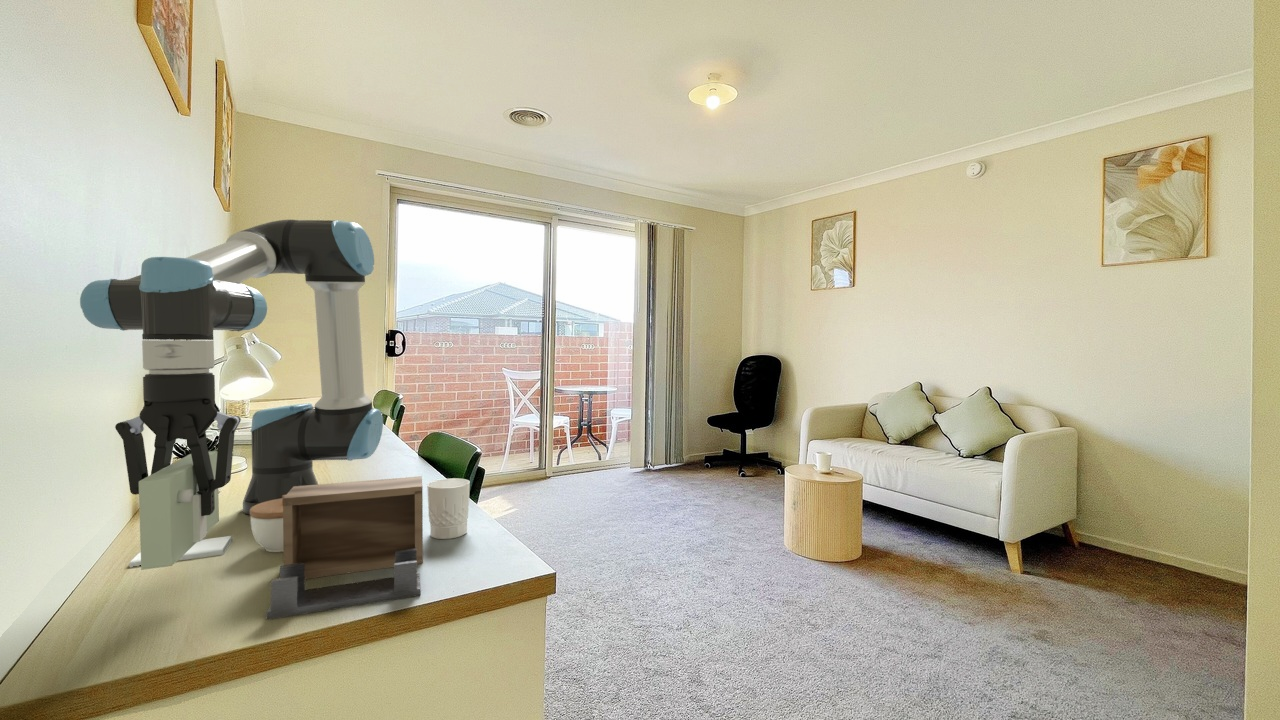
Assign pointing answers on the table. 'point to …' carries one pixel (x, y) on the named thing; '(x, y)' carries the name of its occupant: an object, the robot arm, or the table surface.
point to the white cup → (448, 507)
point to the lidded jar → (268, 524)
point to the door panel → (170, 512)
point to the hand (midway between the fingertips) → (183, 540)
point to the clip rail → (341, 589)
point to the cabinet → (352, 525)
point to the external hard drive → (198, 549)
